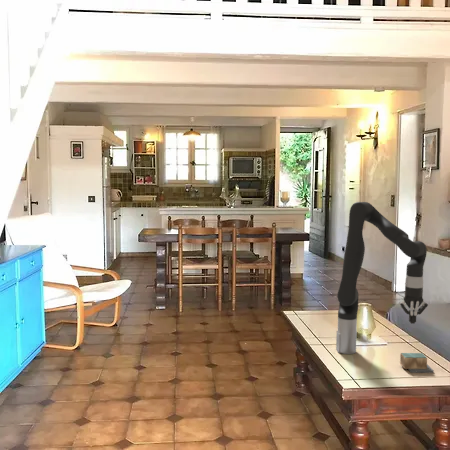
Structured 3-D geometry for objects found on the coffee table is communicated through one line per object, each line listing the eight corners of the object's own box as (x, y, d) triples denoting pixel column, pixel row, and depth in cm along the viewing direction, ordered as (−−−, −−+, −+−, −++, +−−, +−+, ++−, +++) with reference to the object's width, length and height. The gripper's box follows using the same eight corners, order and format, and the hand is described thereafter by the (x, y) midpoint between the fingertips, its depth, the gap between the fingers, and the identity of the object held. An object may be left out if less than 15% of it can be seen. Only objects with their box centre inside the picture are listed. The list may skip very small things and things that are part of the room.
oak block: (404, 357, 230) (427, 357, 230) (400, 352, 236) (422, 352, 236) (404, 368, 231) (426, 368, 231) (400, 363, 237) (421, 363, 236)
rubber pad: (410, 372, 229) (411, 370, 229) (403, 364, 239) (403, 362, 239) (433, 372, 229) (433, 370, 228) (425, 364, 238) (425, 362, 238)
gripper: (401, 287, 227) (400, 325, 229) (432, 287, 227) (430, 325, 228) (396, 283, 234) (395, 320, 236) (425, 284, 234) (424, 321, 236)
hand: (412, 323), depth 232 cm, fingers closed
